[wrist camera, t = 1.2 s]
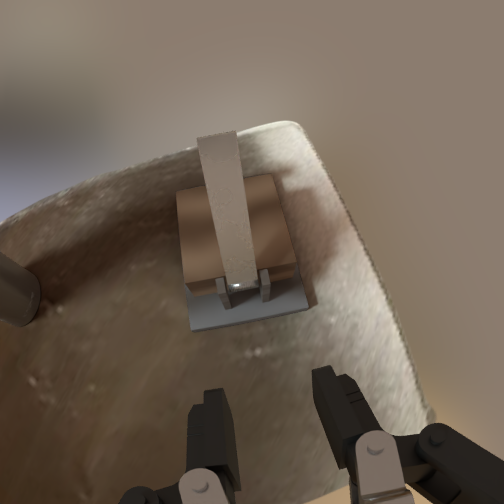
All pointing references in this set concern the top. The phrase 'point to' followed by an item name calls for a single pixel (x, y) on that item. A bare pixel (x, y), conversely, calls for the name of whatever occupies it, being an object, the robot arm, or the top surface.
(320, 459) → the top surface
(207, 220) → the latch block
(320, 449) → the top surface
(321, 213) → the top surface
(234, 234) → the strap
